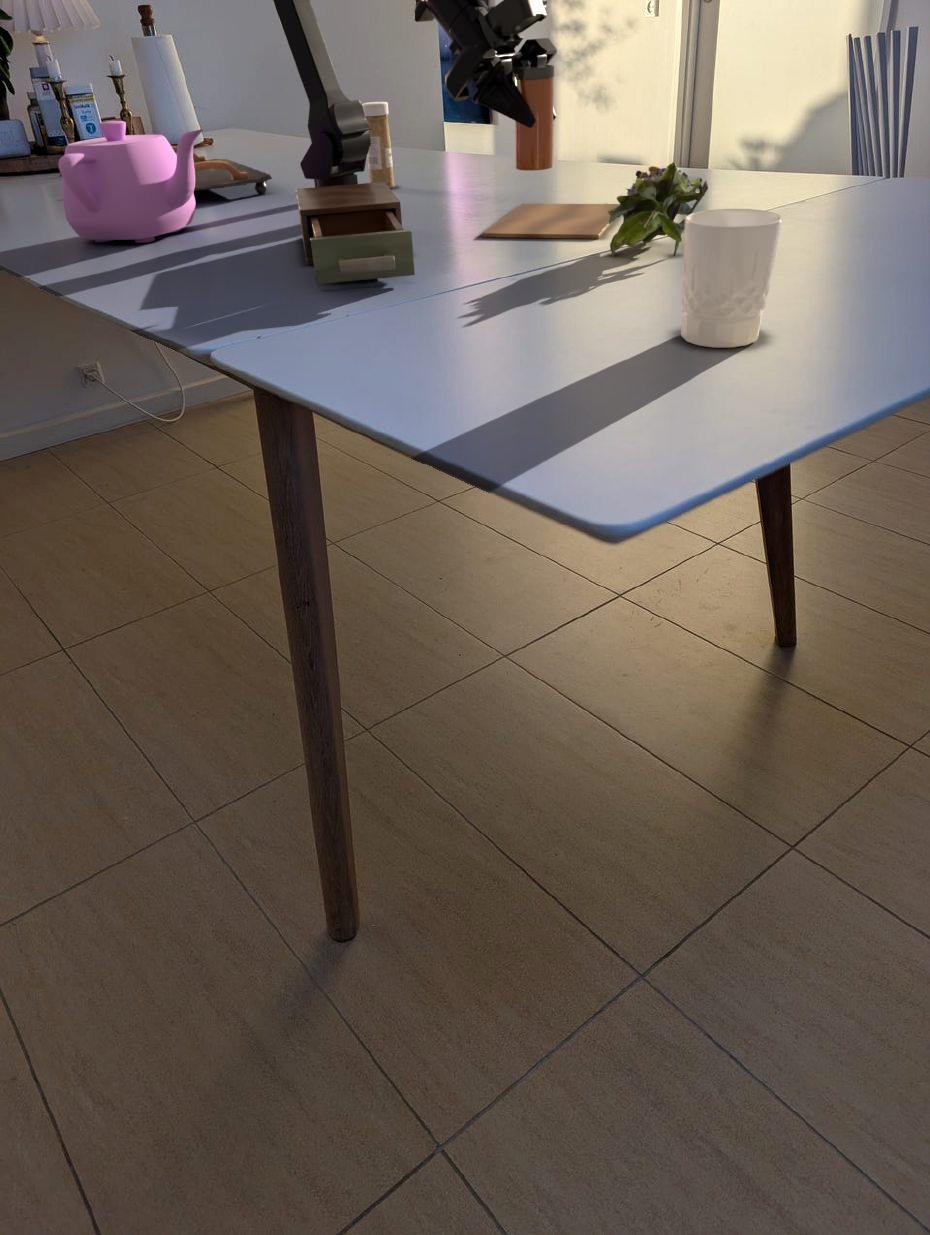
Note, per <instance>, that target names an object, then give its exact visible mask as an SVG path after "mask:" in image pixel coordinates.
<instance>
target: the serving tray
mask: <svg viewBox="0 0 930 1235" xmlns="http://www.w3.org/2000/svg"><path fill="white" fill-rule="evenodd" d="M171 147H172V149H173V150H174V152H175V154H177V147H178V145H171ZM193 161H194V169H195V188H194V192H197V191H205V190H206V191H207V190H213V189H215V190H216V189H222V188H229V187H239V186H246V185H248V184H254V190H255V192H256V193H257V195H259V196H261V195H266V194H267V190H268V186H267V184H266V183H265V182H268V181H269V180H272V179H273V177H272V175H270V173H266V172H264V171H261V170H259V169H255V168H252V167H249V166H247V165H245V164H241V163H238V162H236V161H233V160H230V159H228V158H212V159H206V157H205V155H198V154H196V153H195V152H194V151H193Z"/></svg>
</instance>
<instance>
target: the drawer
mask: <svg viewBox="0 0 930 1235" xmlns="http://www.w3.org/2000/svg"><path fill="white" fill-rule="evenodd" d="M310 219H311V226H312V233H313V238H310V241H311V248H312V255H313V263H314V265H313V269H314V277H315V283H316V285H325V284H336V283H348V282H357V281H358V282H359V281H366V280H377V279H387V278H399V277H409V276H415V275H416V273H415V272H416V271H415V257H414V246H413V244H414V243H413V231H412V230H411V229H409V228H408V229H404V227H403V225H402V226H401V225H400V223H399V222H398V220H397V219H396V217H395V216H394V215H393V213H392V212H391V210H390V209H381V210H369V211H357V212H345V213H334V214H322V215H310Z"/></svg>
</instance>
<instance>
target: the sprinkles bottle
mask: <svg viewBox="0 0 930 1235" xmlns="http://www.w3.org/2000/svg"><path fill="white" fill-rule="evenodd" d="M361 104H362V106H363V109H364V114H365V118H366V120H367V122H368V124H369V126H370V127H371V130H369V134H370V139H371V146H370V147H369V151H368V154H367V158H366V160H367V168H368V173H369V181H370V182H369V183H376V182H385V183H386V184H387V186H388V187H389V188H390V189H393V188H394V187H395V180H394V169H393V155H392V146H391V137H390V127H389V114H390V113H389V104H388V102H387V101H369V102H364V103H361Z"/></svg>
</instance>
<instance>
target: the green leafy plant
mask: <svg viewBox="0 0 930 1235" xmlns="http://www.w3.org/2000/svg"><path fill="white" fill-rule="evenodd" d="M647 170H648V172H647V171H642V170H637V171H636V172H635V177H636V179H635V180H634V182H633V183H632V185H631V186H630V187H629V188H624V189H625V190H627V192H626V194H627V195H622V194H621V195H618V196H616V201H617V202H618V204H620V205H619V206H618V207H616V208H613V209H608V214H609V215H611V216H610V218H609V224H611V222H612V221H613V222H614V221H615V220H616V219H617V218H620V217H623V218H622V220H623V221H622V223H621V225H620V226H619V228H618V230H617V232H616V233H615V234H614V235H613V236H612V239H611V241H610V243H609V248H610V249H609V250H610V252H611V254H612V256H615V254H616V251H618V250H619V249H620V248H622V247H624V246H628V247H629V248H630V247H635V245H638V244H639V243H641V242H642V243H644V244H647V243H651V242H652V241H653V240H654V238H656V237H658V236H667V237H669V238H670V239H672V240H674V241H675V244H674V249H673V250H674V251H673V255H672V256H673V257H675V256H676V255H677V251H678V248H679V246H680V243H681V242H682V241H683V239H682V235H683V233H684V221H685V218H683V219H682V221H680V222H676V221H675V219H676V217H677V216H678V215H680V216H687V215H689V214H692V213H694V211H695V209H696V207H697V206H698V205H699V203H700V202H701V200H702V198H703V197H704V196H705V195H706V193H707V191H708V190H709V185H708V181H707V179H706V180H705V181H704V183H703V185H702V182H703V178H702V177H698V178H696V179H694V180H690V179H689V175H688V174H686V172H684V171H683V172H682V170H681V169H679V170H678V165H677V164H676V162H675V161H672V163H669V164H668V165H666V167H662V168H661V167H658V166H653V165H651V166H649V167H648V168H647ZM690 186H691V187H692V189H690V190H689V189H688V187H690ZM697 189H698V190H699V191H698V190H697ZM693 201H695V202H694V203H693V205H692V206H691V205H690V204H689V203H690V202H693ZM613 222H612V223H613ZM611 225H612V224H611Z"/></svg>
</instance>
